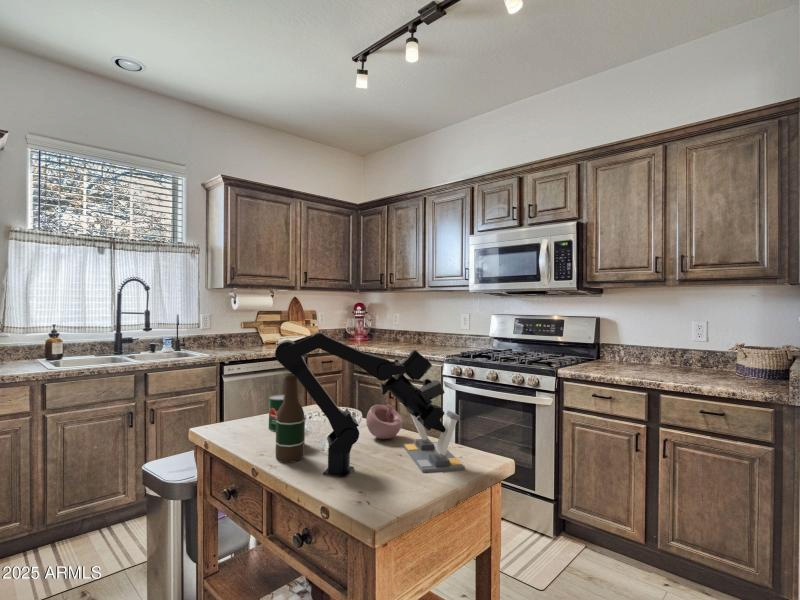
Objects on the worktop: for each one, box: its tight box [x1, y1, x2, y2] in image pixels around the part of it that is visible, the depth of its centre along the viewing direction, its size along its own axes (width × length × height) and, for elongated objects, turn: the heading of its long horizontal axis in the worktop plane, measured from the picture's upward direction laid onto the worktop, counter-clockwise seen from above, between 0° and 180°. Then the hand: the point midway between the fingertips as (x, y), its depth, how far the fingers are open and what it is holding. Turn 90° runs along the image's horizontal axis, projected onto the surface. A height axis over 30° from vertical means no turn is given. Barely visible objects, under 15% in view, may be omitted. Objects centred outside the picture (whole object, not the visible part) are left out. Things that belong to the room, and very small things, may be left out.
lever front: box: [435, 410, 461, 459], centre depth 125 cm, size 2×4×12 cm, turn 13°
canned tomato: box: [268, 394, 284, 432], centre depth 158 cm, size 8×8×11 cm
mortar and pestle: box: [366, 403, 404, 440], centre depth 149 cm, size 12×12×12 cm
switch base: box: [402, 438, 466, 473], centre depth 132 cm, size 12×22×2 cm, turn 13°
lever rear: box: [409, 412, 430, 443], centre depth 138 cm, size 2×4×12 cm, turn 13°
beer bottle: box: [275, 372, 305, 464], centre depth 128 cm, size 8×8×24 cm
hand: (444, 431), depth 125 cm, fingers closed, pressing on lever front
